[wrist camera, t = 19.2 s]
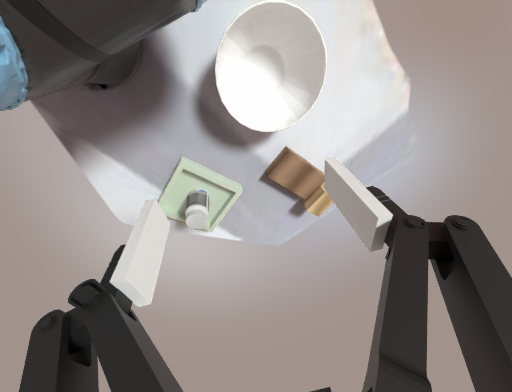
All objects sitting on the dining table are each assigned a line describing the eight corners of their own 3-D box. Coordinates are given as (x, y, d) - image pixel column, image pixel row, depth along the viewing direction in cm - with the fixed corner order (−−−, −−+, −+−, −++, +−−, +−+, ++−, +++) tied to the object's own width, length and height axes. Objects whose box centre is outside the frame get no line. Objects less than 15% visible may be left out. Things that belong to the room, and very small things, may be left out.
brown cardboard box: (264, 169, 47) (267, 176, 45) (285, 145, 44) (289, 151, 42) (301, 192, 52) (305, 199, 50) (322, 171, 50) (327, 178, 47)
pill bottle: (183, 194, 46) (177, 220, 40) (200, 184, 46) (198, 208, 39) (197, 208, 49) (194, 234, 42) (213, 198, 48) (213, 223, 42)
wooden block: (300, 197, 53) (306, 210, 49) (316, 180, 50) (325, 192, 46) (311, 203, 55) (318, 216, 51) (327, 186, 52) (336, 199, 48)
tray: (156, 204, 48) (153, 212, 46) (182, 155, 42) (180, 161, 40) (212, 224, 54) (211, 232, 52) (241, 184, 48) (242, 191, 46)
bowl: (226, 126, 40) (228, 140, 34) (203, 15, 30) (199, 10, 24) (308, 111, 40) (323, 123, 35) (311, -1, 31) (332, -10, 25)
